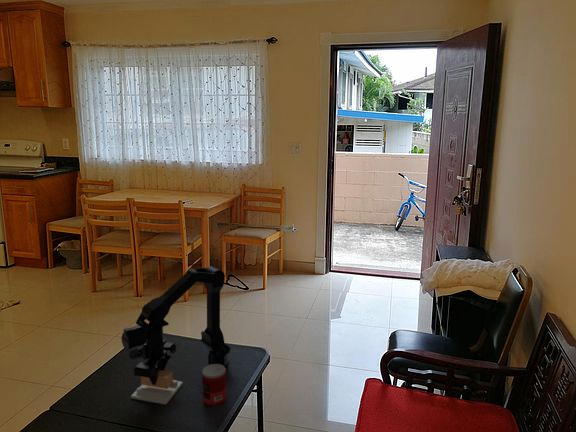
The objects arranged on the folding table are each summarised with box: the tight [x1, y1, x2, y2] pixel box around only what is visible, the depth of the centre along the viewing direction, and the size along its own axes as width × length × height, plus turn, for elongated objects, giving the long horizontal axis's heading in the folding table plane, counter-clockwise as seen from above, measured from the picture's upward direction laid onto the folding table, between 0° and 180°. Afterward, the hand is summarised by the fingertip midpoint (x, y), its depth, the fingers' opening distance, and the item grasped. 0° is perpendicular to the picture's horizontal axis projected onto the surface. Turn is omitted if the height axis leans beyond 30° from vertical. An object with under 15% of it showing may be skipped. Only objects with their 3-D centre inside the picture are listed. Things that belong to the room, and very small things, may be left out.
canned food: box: [201, 364, 227, 407], centre depth 153 cm, size 8×8×11 cm
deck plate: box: [130, 379, 184, 405], centre depth 158 cm, size 13×12×2 cm
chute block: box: [140, 370, 174, 389], centre depth 157 cm, size 10×4×4 cm, turn 76°
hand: (157, 380), depth 157 cm, fingers closed on chute block, 4 cm apart
